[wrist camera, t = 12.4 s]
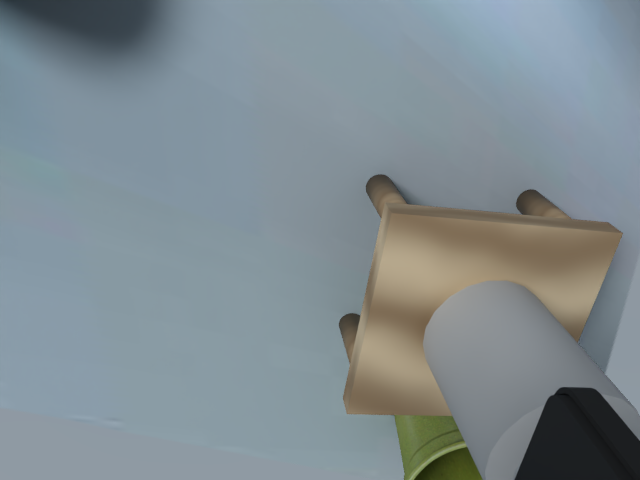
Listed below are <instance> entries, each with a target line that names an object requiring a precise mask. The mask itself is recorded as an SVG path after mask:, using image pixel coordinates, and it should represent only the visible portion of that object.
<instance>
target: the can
mask: <svg viewBox="0 0 640 480" xmlns="http://www.w3.org/2000/svg"><path fill="white" fill-rule="evenodd" d="M423 348H424V353H425V359H426V361H427V363H428V365H429V367H430V370H431V372H432V374H433V376H434V378H435V380H436V382H437V384H438V386H439V388H440V391H441V393H442V395H443V397H444V399H445V401H446V403H447V405H448V407H449V410H450V412H451V414H452V416H453V418H454V420H455V422H456V424H457V426H458V428H459V431H460V433H461V435H462V437H463V439H464V441H465V443H466V445H467V447H468V450H469V452H470V454H471V456H472V458H473V460H474V462H475V464H476V466H477V468H478V471H479V473H480V475H481V477H482V479H483V480H515V477H516V475H517V472H518V470H519V467H520V465H521V462H522V460H523V458H524V455H525V453H526V450H527V448H528V445H529V443H530V440H531V438H532V435H533V433H534V431H535V428H536V426H537V423H538V421H539V418H540V416H541V413H542V411H543V409H544V406H545V404H546V401H547V399H548V398H549V397H550V396H551V395H554V394H555V393H556V391H557V390H558V389H559V388H561V387H583V388H593V389H596V390H597V391H598V392H599V393H600V394H601V395H602V396H603V397H604V398H605V400H606V401H607V402H608V403H609V404H610V406H611V407H612V408H613V409H614V410H615V412H616V413H617V414H618V415H619V416H620V418H621V419H622V420H623V421H624V422H625V424H626V425H627V426H628V427H629V428H630V430H631V431H632V432H633V433H634V434H635V436H636V437H637V438H638V439H639V440H640V416H639V414H638V412H637V410H636V409H635V408H634V407H633V405H632V404H631V403H630V402H629V401H628V400H627V399H626V397H625V396H624V395H623V394H622V393H621V392H620V391H619V390H618V388H617V387H616V386H615V385H614V384H613V383H612V382H611V380H610V379H609V378H608V377H607V376H606V375H605V374H604V372H603V371H602V370H601V369H600V368H599V367H598V366H597V364H596V363H595V362H594V361H593V360H592V359H591V358H590V356H589V355H588V354H587V353H586V352H585V351H584V350H583V349H582V347H581V346H580V345H579V344H578V343H577V342H576V341H575V339H574V338H573V337H572V336H571V335H570V334H569V333H568V331H567V330H566V329H565V328H564V327H563V326H562V325H561V324H560V322H559V321H558V320H557V319H556V318H555V317H554V316H553V314H552V313H551V312H550V311H549V310H548V309H547V308H546V306H545V305H544V304H543V303H542V302H541V301H540V300H539V299H538V297H537V296H536V295H534V294H533V293H532V292H531V291H529V290H528V289H527V288H526V287H524V286H522V285H519V284H516V283H513V282H510V281H485V282H481V283H478V284H474V285H471V286H467V287H466V288H464V289H462V290H460V291H459V292H457V293H455V294H454V295H452V296H450V297H449V298H448V299H447V300H446V301H445V302H444V303H443V304H442V305H441V306H440V307H439V308H438V309H437V310H436V311H435V312H434V314H433V316H432V317H431V319H430V321H429V323H428V325H427V326H426V329H425V334H424V340H423Z"/></svg>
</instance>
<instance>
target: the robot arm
mask: <svg viewBox="0 0 640 480" xmlns="http://www.w3.org/2000/svg"><path fill="white" fill-rule="evenodd" d="M515 480H640V440H639V439H638V438H637V437H636V436H635V434H634V433H633V432H632V431H631V430H630V428H629V427H628V426H627V425H626V424H625V422H624V421H623V420H622V419H621V418H620V416H619V415H618V414H617V413H616V412H615V410H614V409H613V408H612V407H611V406H610V404H609V403H608V402H607V401H606V400H605V398H604V397H603V396H602V395H601V394H600V393H599V392H598V391H597V390H596V389H593V388H583V387H561V388H559V389H558V390H557V391H556V393H555V394H554V395H551V396H550V397H549V398H548V399H547V401H546V404H545V406H544V409H543V411H542V413H541V416H540V418H539V421H538V423H537V426H536V428H535V431H534V433H533V435H532V438H531V440H530V443H529V445H528V448H527V450H526V453H525V455H524V458H523V460H522V462H521V465H520V467H519V470H518V472H517V475H516V477H515Z"/></svg>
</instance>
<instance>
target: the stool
mask: <svg viewBox="0 0 640 480" xmlns="http://www.w3.org/2000/svg"><path fill="white" fill-rule="evenodd" d="M366 192H367V194H368V196H369V198H370V199H371V201H372V203H373V205H374V207H375V208H376V210H377V212H378V214H379V216H380V217H381V223H380V228H379V232H378V237H377V242H376V246H375V251H374V255H373V260H372V265H371V269H370V274H369V279H368V283H367V288H366V293H365V297H364V302H363V307H362V311H361V316H359V315H357V314H353V313H351V314H347V315H345V316H343V317H342V318H341V320H340V322H339V328H340V331H341V334H342V338H343V341H344V345H345V348H346V352H347V355H348V359H349V362H350V367H349V372H348V377H347V381H346V386H345V391H344V395H343V400H344V404H345V408H346V412H347V414H371V415H425V416H452V414H451V412H450V410H449V407H448V405H447V403H446V401H445V399H444V397H443V395H442V393H441V391H440V388H439V386H438V384H437V382H436V380H435V378H434V376H433V374H432V372H431V370H430V367H429V365H428V363H427V361H426V359H425V353H424V348H423V340H424V334H425V329H426V326H427V325H428V323H429V321H430V319H431V317H432V316H433V314H434V312H435V311H436V310H437V309H438V308H439V307H440V306H441V305H442V304H443V303H444V302H445V301H446V300H447V299H448V298H449V297H450V296H452V295H454V294H455V293H457V292H459V291H460V290H462V289H464V288H466V287H467V286H471V285H474V284H478V283H481V282H485V281H510V282H513V283H516V284H519V285H522V286H524V287H526V288H527V289H528V290H529V291H531V292H532V293H533V294H534V295H536V296H537V297H538V299H539V300H540V301H541V302H542V303H543V304H544V305H545V306H546V308H547V309H548V310H549V311H550V312H551V313H552V314H553V316H554V317H555V318H556V319H557V320H558V321H559V322H560V324H561V325H562V326H563V327H564V328H565V329H566V330H567V331H568V333H569V334H570V335H571V336H572V337H573V338H574V339H575V341H576V342H577V343H578V341H579V338H580V336H581V333H582V331H583V328H584V326H585V324H586V321H587V319H588V316H589V314H590V312H591V309H592V307H593V304H594V302H595V300H596V297H597V295H598V292H599V290H600V287H601V285H602V283H603V280H604V278H605V275H606V273H607V271H608V268H609V266H610V263H611V261H612V259H613V256H614V254H615V251H616V249H617V247H618V244H619V242H620V239H621V237H622V234H623V233H622V232H620V231H619V230H618V229H616V228H615V227H614V226H612V225H611V224H609V223H608V222H598V221H587V220H575V219H571V218H570V217H569V216H568V215H566V214H565V213H564V212H563V211H561V210H560V209H559V208H558V207H556V206H555V205H554V204H553V203H551V202H550V201H549V200H547V199H546V198H545V197H544V196H542V195H541V194H540V193H539V192H537V191H536V190H527V191H524V192H523V193H522V194H520V196H519V197H518V199H517V202H516V206H517V209H518V210H519V211H520V212H521V213H522V214H523V215H520V214H509V213H498V212H487V211H476V210H465V209H454V208H443V207H432V206H421V205H410V204H407V203H406V201H405V200H404V199H403V197H402V196H401V194H400V193H399V191H398V190H397V188H396V187H395V186H394V184H393V183H392V181H391V180H390V178H389V177H387V176H385V175H375V176H373V177H372V178H370V179H369V181H368V182H367V185H366Z"/></svg>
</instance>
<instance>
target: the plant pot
mask: <svg viewBox="0 0 640 480" xmlns="http://www.w3.org/2000/svg"><path fill="white" fill-rule="evenodd" d="M394 416H395V422H396V427H397V433H398V438H399V444H400V450H401V455H402V461H403V467H404V473H405V475H404V480H483V479H482V477H481V475H480V473H479V471H478V468H477V466H476V464H475V462H474V460H473V458H472V456H471V454H470V452H469V450H468V447H467V445H466V443H465V441H464V439H463V437H462V435H461V433H460V431H459V428H458V426H457V424H456V422H455V420H454V418H453V416H425V415H394Z"/></svg>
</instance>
